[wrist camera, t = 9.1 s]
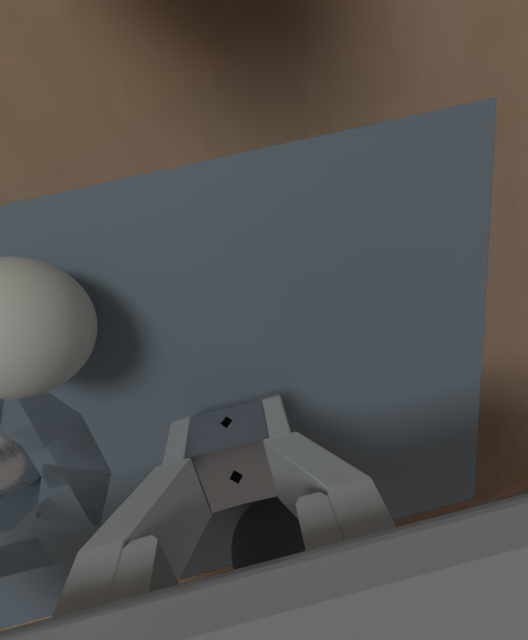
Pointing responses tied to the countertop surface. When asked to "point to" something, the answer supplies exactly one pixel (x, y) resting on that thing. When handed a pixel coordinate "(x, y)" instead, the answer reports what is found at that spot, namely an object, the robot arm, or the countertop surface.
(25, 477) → the steel ball
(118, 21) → the countertop surface
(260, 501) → the black ball
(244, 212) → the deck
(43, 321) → the cream ball
